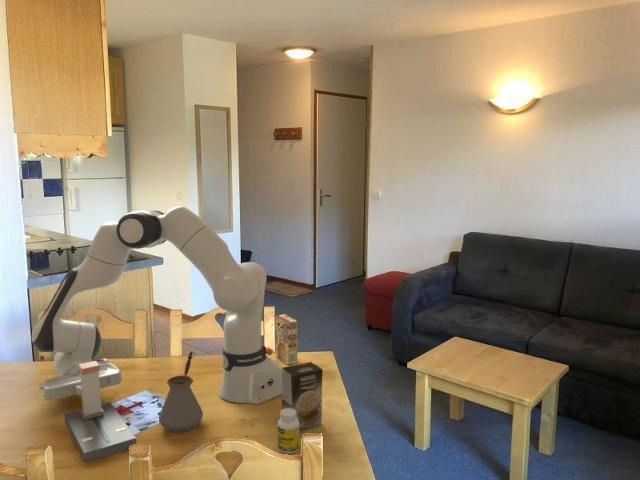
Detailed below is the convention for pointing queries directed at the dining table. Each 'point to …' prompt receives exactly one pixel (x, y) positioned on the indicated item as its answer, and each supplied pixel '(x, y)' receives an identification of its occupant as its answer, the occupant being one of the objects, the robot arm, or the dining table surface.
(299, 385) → the coffee box
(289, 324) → the candy box
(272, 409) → the dining table surface
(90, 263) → the robot arm
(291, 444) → the supplement bottle
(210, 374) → the dining table surface
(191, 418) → the coffee pot
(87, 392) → the fader knob
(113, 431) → the fader console
